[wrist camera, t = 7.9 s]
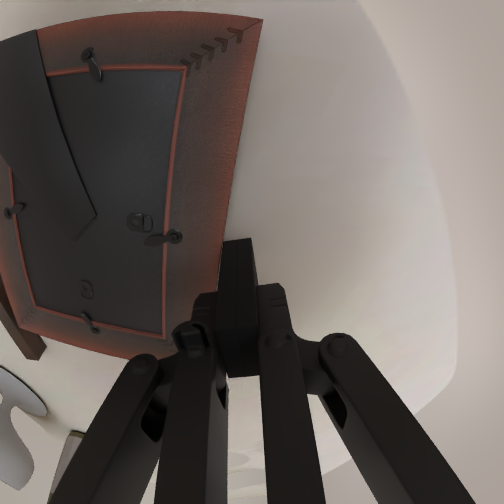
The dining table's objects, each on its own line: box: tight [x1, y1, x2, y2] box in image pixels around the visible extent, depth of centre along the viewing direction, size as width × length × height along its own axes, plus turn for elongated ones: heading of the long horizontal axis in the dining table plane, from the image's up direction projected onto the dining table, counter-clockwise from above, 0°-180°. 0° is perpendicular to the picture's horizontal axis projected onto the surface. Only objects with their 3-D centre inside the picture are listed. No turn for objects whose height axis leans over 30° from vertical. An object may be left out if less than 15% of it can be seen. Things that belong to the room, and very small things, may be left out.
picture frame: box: [0, 11, 263, 360], centre depth 14 cm, size 16×2×22 cm
